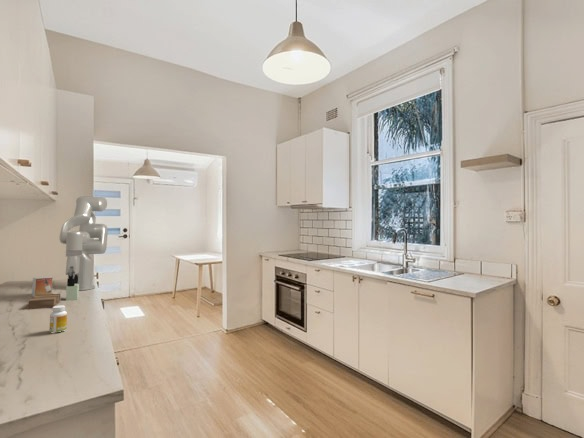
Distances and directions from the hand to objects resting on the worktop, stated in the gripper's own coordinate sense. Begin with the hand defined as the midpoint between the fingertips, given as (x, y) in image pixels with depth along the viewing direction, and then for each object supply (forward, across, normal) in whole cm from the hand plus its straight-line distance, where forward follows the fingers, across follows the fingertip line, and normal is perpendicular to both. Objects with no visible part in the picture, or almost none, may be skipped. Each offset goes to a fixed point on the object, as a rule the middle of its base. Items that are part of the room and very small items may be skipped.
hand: (72, 284), depth 174 cm
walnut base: (+8, +9, -10) cm, 16 cm away
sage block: (+8, -1, 0) cm, 8 cm away
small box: (+8, -16, -17) cm, 25 cm away
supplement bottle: (+10, +58, +5) cm, 59 cm away
